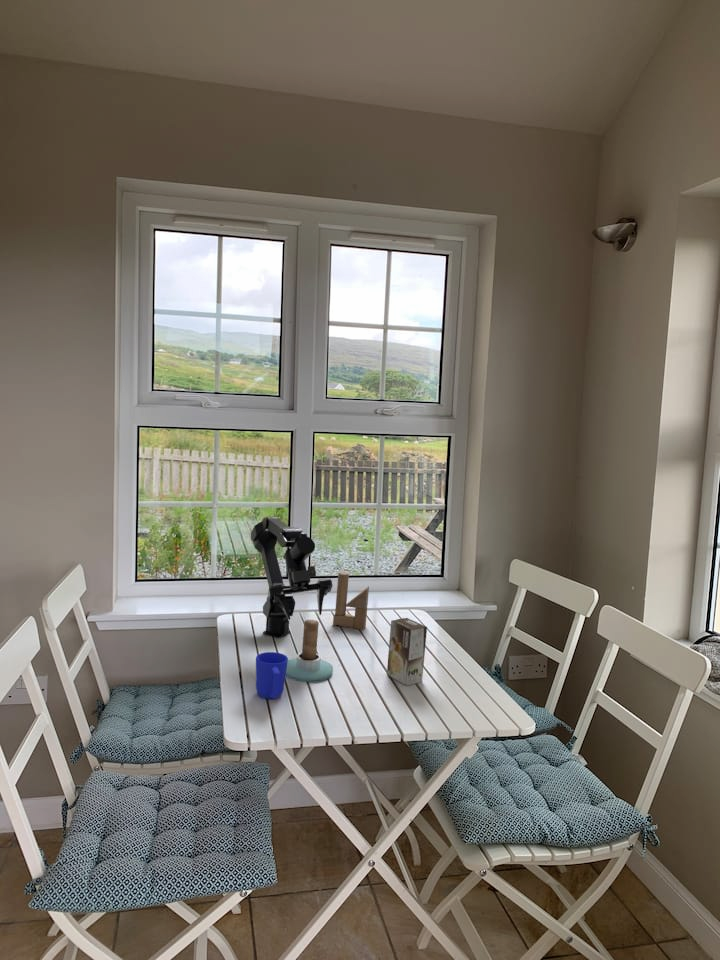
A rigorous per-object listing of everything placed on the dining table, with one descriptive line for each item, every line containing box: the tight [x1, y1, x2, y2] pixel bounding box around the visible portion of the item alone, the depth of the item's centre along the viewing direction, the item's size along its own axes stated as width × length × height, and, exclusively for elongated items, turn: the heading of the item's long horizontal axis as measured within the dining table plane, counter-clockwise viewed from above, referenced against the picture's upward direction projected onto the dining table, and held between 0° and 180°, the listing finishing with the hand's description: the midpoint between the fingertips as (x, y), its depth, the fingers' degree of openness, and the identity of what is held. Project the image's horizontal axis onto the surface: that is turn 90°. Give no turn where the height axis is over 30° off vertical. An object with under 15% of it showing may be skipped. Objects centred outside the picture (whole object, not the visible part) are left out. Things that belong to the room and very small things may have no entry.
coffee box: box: [386, 617, 428, 686], centre depth 210 cm, size 9×6×16 cm
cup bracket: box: [285, 652, 334, 683], centre depth 210 cm, size 14×14×4 cm
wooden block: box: [332, 571, 370, 630], centre depth 251 cm, size 4×11×18 cm, turn 79°
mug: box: [255, 651, 289, 700], centre depth 190 cm, size 8×12×10 cm
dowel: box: [301, 619, 320, 660], centre depth 209 cm, size 4×4×13 cm
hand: (305, 617), depth 218 cm, fingers open, 9 cm apart
